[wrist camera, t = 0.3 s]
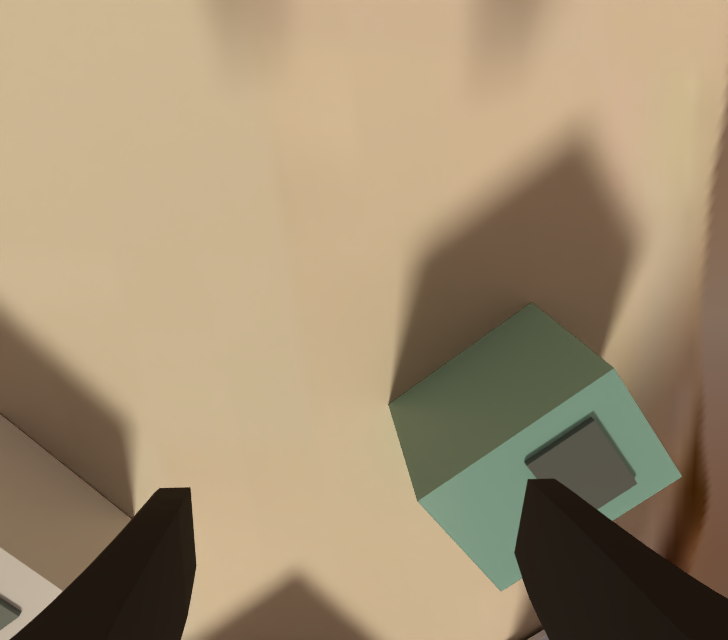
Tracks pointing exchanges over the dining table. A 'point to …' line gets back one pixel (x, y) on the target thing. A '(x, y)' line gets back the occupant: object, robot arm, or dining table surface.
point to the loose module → (523, 436)
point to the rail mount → (44, 528)
